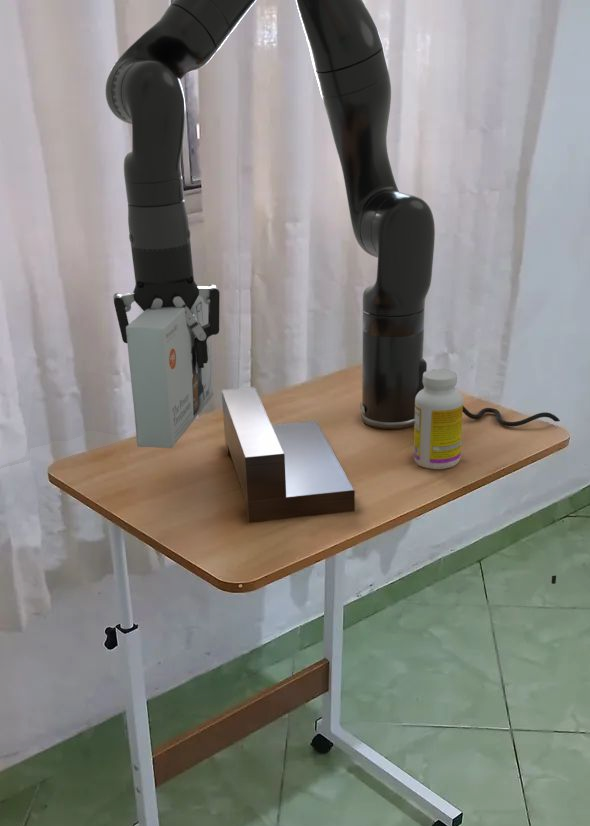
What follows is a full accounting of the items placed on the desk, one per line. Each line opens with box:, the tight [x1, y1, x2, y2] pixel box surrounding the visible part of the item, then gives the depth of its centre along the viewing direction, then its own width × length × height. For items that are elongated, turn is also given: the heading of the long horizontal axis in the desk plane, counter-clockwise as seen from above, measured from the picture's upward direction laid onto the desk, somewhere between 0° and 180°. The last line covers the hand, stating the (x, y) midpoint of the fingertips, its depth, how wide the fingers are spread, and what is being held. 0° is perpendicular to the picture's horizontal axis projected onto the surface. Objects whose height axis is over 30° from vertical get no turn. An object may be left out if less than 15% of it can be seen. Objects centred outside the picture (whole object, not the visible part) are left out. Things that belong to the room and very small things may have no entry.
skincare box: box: [126, 285, 215, 449], centre depth 138 cm, size 21×6×16 cm, turn 169°
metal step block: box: [220, 386, 356, 523], centre depth 142 cm, size 14×26×9 cm, turn 10°
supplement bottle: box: [413, 368, 464, 470], centre depth 144 cm, size 7×7×13 cm
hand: (174, 368), depth 139 cm, fingers closed on skincare box, 6 cm apart
